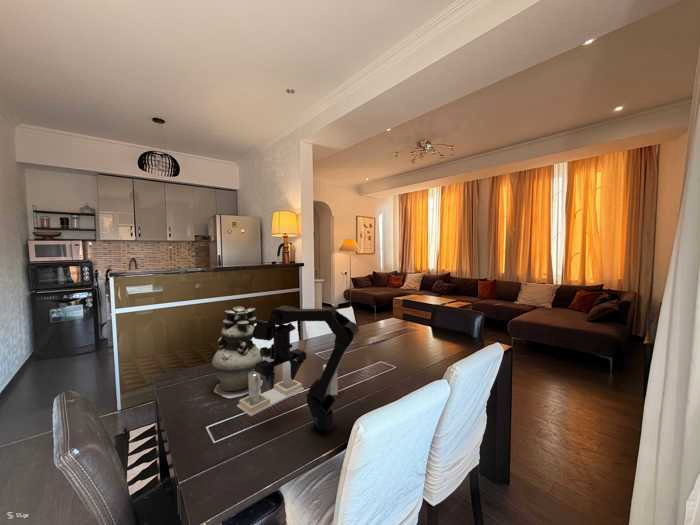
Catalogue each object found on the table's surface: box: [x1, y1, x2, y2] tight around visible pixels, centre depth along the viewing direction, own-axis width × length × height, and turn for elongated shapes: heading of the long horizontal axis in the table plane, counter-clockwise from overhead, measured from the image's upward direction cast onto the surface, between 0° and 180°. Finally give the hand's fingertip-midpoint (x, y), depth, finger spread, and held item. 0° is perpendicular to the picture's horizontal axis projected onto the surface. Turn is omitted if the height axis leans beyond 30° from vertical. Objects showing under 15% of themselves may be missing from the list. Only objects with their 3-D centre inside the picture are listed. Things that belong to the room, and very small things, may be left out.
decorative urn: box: [211, 306, 264, 399], centre depth 125 cm, size 21×21×35 cm
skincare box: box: [322, 364, 339, 396], centre depth 120 cm, size 6×4×12 cm
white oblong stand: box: [236, 361, 305, 417], centre depth 116 cm, size 10×25×13 cm, turn 140°
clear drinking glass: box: [248, 371, 262, 406], centre depth 110 cm, size 4×4×12 cm
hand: (282, 384), depth 102 cm, fingers open, 9 cm apart
